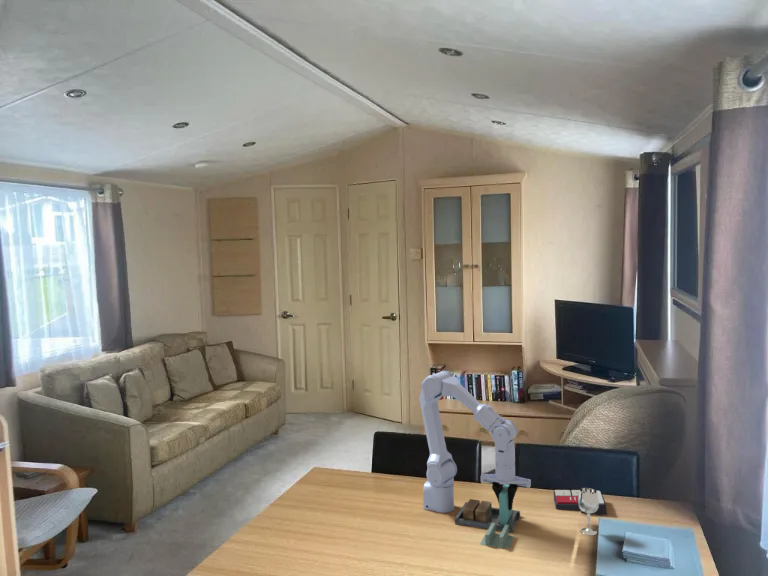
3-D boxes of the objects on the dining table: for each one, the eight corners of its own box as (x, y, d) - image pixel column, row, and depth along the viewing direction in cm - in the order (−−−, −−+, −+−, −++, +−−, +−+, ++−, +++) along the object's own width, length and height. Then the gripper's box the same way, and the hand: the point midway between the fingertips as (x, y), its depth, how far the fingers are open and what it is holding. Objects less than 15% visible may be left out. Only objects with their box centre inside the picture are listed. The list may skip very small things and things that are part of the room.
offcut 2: (475, 524, 178) (475, 510, 178) (482, 513, 185) (481, 500, 185) (485, 525, 177) (485, 512, 177) (491, 514, 184) (491, 501, 184)
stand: (479, 547, 165) (479, 533, 165) (486, 535, 173) (486, 521, 173) (508, 552, 162) (508, 538, 162) (514, 539, 170) (514, 525, 169)
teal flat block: (499, 528, 175) (498, 494, 174) (506, 516, 183) (505, 483, 183) (506, 529, 174) (505, 495, 174) (512, 516, 182) (511, 484, 182)
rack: (455, 527, 179) (454, 517, 178) (466, 511, 190) (465, 502, 189) (512, 536, 172) (512, 525, 172) (520, 519, 183) (520, 509, 183)
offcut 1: (463, 522, 180) (463, 509, 179) (470, 511, 187) (470, 499, 187) (473, 523, 178) (472, 510, 178) (479, 512, 186) (479, 500, 186)
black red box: (553, 488, 198) (601, 488, 194) (554, 501, 198) (601, 501, 194) (555, 501, 187) (606, 502, 184) (556, 515, 187) (607, 516, 184)
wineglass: (599, 528, 175) (598, 488, 174) (599, 537, 169) (599, 495, 169) (578, 526, 177) (577, 486, 176) (578, 535, 171) (577, 493, 171)
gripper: (477, 464, 177) (478, 509, 177) (527, 470, 171) (528, 516, 172) (483, 457, 183) (484, 500, 184) (531, 462, 178) (532, 507, 178)
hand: (505, 508), depth 178 cm, fingers closed on teal flat block, 2 cm apart
